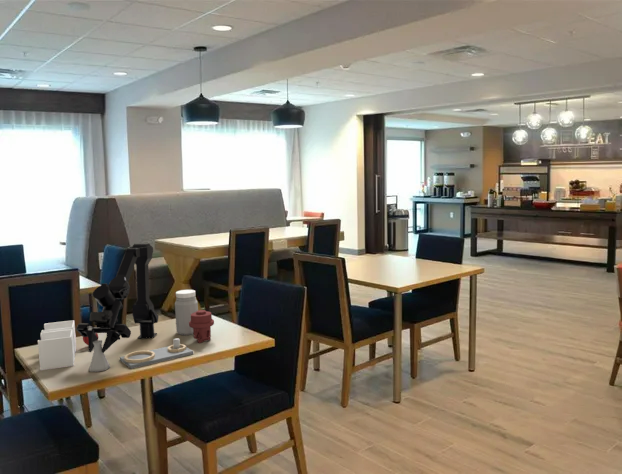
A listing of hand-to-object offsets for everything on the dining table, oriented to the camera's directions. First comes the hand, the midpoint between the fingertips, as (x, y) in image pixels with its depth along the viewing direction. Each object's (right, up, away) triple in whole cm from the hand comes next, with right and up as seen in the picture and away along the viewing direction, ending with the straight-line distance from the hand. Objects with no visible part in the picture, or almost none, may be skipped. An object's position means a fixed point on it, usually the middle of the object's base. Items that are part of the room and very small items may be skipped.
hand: (96, 352), depth 199 cm
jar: (+23, -1, +44) cm, 50 cm away
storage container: (-20, -6, +16) cm, 26 cm away
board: (+18, -5, +13) cm, 23 cm away
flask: (0, -7, +2) cm, 7 cm away
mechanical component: (+31, -2, +32) cm, 45 cm away
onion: (-13, -4, +29) cm, 31 cm away
